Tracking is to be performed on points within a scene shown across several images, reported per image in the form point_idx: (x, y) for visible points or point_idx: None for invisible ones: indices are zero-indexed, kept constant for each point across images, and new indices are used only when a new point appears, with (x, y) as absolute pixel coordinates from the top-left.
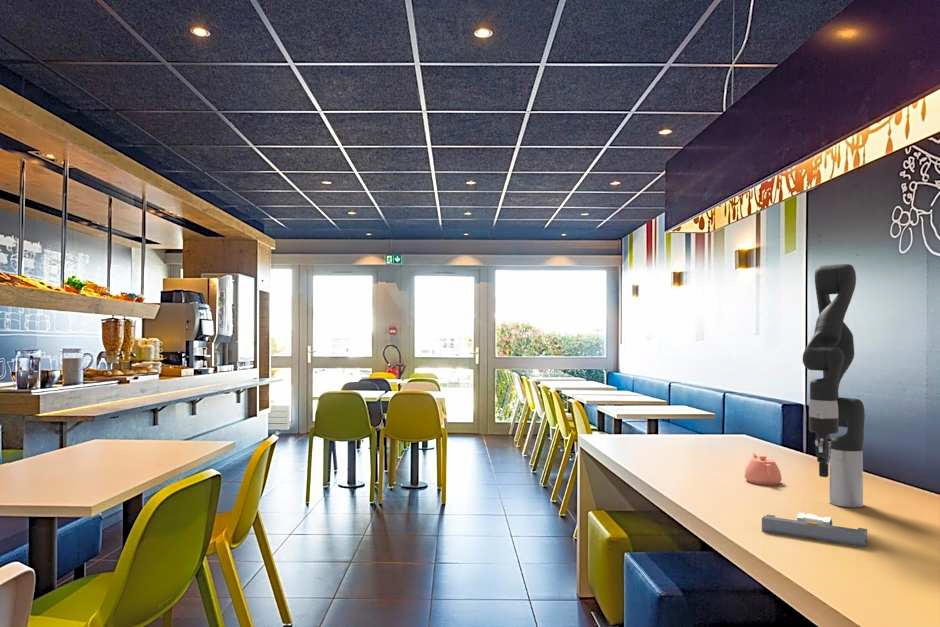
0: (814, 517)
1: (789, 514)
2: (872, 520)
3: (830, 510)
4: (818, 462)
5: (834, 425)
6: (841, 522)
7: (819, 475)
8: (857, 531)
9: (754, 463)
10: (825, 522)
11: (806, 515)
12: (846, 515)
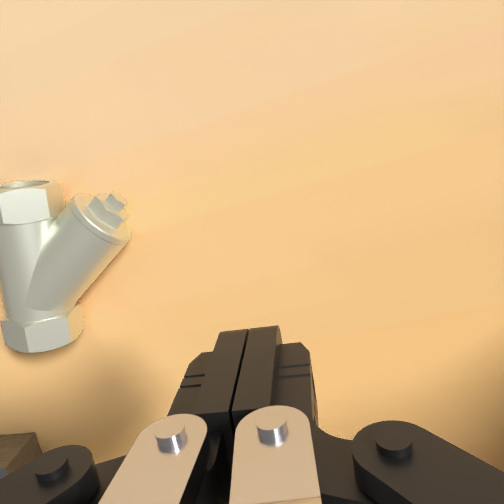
0: (4, 277)
1: (262, 39)
2: (453, 418)
3: None
4: (150, 426)
5: None
6: (289, 317)
7: (221, 332)
8: None
9: None
10: (3, 329)
11: (2, 234)
12: (484, 300)
